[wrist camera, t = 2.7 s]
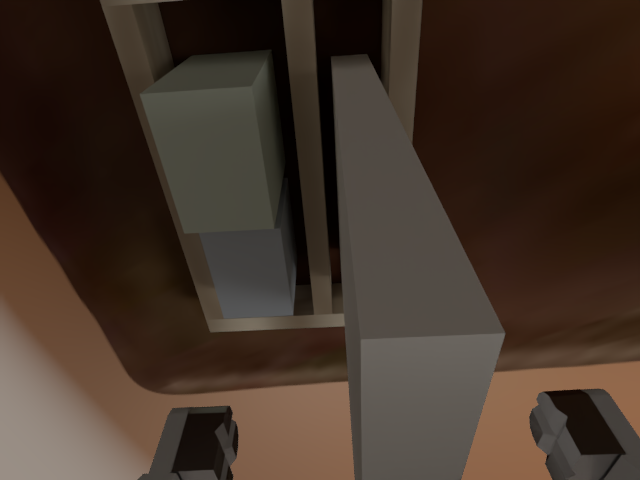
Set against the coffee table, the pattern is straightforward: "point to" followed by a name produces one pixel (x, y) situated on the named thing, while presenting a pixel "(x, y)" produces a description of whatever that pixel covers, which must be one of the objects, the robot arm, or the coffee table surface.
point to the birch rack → (399, 83)
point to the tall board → (404, 297)
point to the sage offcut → (220, 140)
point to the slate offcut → (255, 266)
